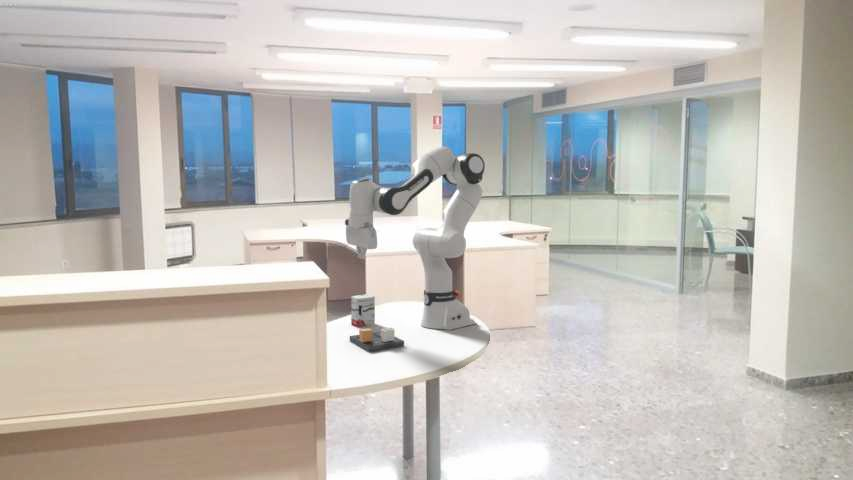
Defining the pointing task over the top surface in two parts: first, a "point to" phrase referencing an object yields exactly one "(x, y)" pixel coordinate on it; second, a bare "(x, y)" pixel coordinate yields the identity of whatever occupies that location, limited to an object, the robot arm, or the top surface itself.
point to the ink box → (362, 310)
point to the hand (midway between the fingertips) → (361, 258)
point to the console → (377, 343)
